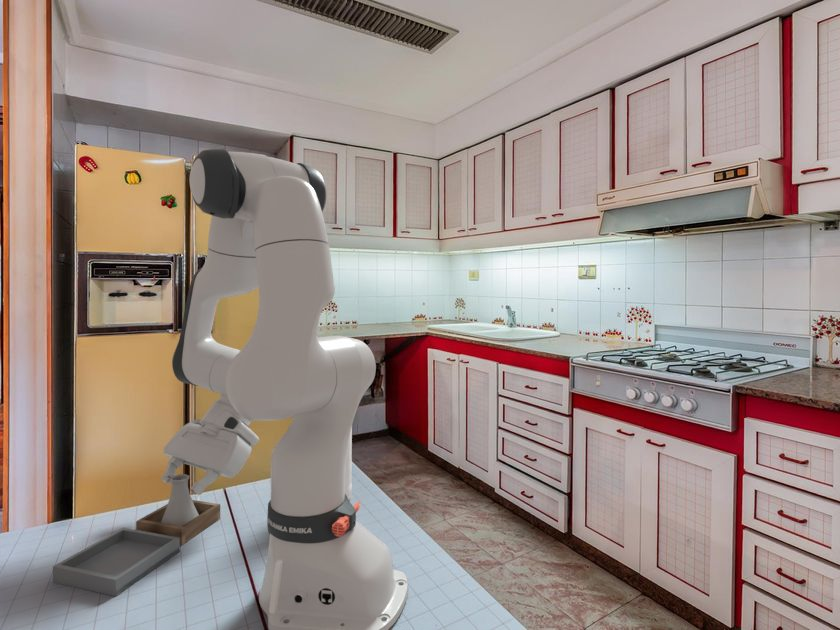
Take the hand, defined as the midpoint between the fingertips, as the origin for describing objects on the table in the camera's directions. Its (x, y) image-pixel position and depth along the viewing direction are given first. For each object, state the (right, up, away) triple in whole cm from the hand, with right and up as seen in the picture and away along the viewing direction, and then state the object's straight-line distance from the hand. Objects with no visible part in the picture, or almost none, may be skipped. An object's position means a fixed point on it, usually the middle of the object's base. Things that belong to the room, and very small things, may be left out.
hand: (179, 487), depth 87 cm
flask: (0, -8, 0) cm, 8 cm away
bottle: (+27, -8, +14) cm, 32 cm away
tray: (-3, -8, -12) cm, 15 cm away
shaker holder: (0, -8, 0) cm, 8 cm away
